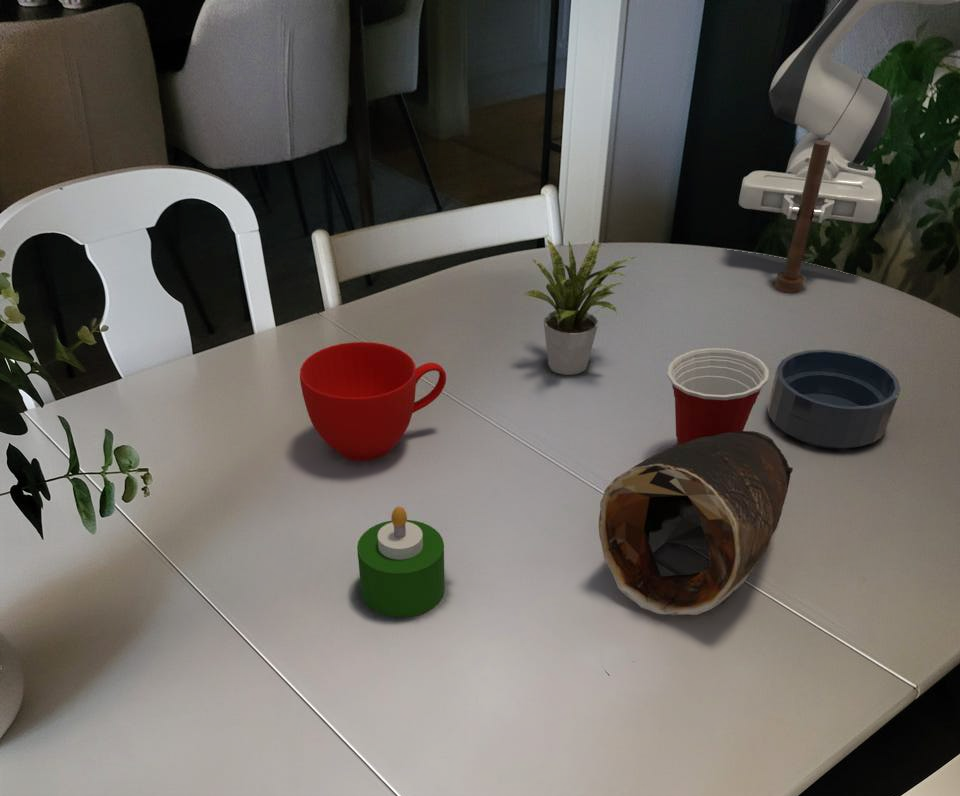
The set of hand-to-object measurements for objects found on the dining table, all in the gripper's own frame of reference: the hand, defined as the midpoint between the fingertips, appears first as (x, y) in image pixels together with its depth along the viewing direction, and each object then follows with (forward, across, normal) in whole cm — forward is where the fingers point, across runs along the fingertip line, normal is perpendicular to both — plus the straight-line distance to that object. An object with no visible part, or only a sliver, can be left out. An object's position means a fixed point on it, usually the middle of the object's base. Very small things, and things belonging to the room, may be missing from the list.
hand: (805, 215), depth 140 cm
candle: (+84, -30, +11) cm, 90 cm away
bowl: (+37, +8, +11) cm, 40 cm away
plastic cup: (+51, -6, +11) cm, 53 cm away
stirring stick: (-1, 0, +11) cm, 11 cm away
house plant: (+35, -25, +11) cm, 45 cm away
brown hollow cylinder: (+68, -2, +11) cm, 68 cm away
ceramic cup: (+60, -42, +11) cm, 74 cm away
